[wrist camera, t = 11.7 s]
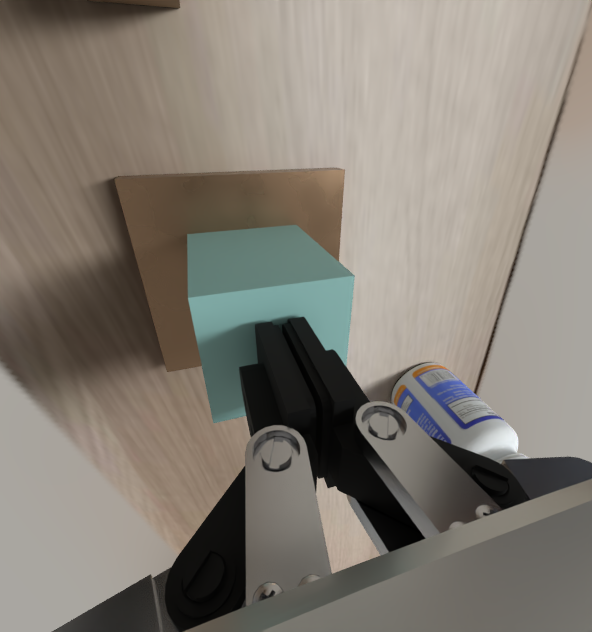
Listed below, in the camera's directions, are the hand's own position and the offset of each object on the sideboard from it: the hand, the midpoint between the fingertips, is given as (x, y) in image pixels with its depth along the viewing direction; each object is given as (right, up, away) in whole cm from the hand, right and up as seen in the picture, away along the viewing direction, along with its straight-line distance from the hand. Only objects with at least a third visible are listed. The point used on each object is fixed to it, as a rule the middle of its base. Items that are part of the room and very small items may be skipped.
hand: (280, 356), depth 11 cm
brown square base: (-2, +4, +6) cm, 8 cm away
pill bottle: (+11, -4, +16) cm, 20 cm away
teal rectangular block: (-2, +3, +6) cm, 7 cm away
